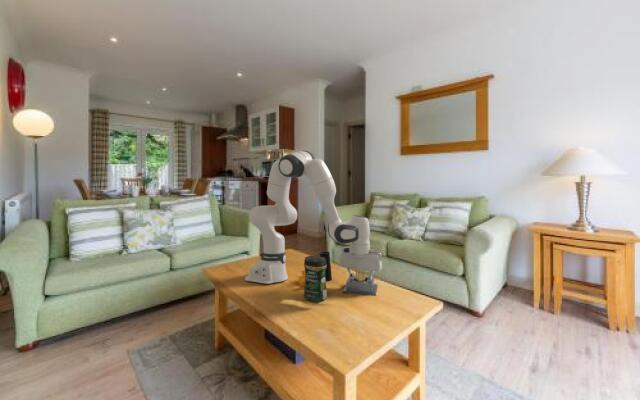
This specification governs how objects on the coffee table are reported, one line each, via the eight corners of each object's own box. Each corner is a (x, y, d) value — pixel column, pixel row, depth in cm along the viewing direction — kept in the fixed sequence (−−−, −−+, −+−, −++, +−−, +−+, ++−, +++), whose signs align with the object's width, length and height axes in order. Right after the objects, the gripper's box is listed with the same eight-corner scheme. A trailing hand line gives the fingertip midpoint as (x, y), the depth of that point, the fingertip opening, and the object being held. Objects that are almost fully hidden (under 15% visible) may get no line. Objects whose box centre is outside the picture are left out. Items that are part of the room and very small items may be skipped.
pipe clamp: (298, 282, 148) (298, 270, 148) (306, 282, 149) (306, 269, 149) (303, 289, 136) (303, 276, 136) (312, 289, 138) (312, 275, 137)
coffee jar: (301, 299, 123) (300, 256, 123) (311, 294, 130) (311, 253, 130) (319, 303, 118) (319, 259, 118) (329, 298, 125) (329, 255, 124)
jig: (342, 292, 131) (342, 282, 131) (347, 283, 145) (347, 274, 145) (375, 295, 128) (375, 284, 128) (377, 285, 141) (377, 276, 141)
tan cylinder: (355, 289, 134) (355, 272, 134) (356, 286, 138) (356, 269, 138) (364, 290, 133) (364, 272, 133) (365, 287, 137) (365, 270, 137)
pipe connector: (314, 286, 143) (312, 256, 142) (309, 283, 148) (307, 255, 147) (333, 280, 149) (331, 252, 148) (328, 278, 154) (326, 250, 153)
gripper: (383, 250, 134) (384, 279, 134) (344, 246, 144) (344, 273, 144) (379, 252, 128) (379, 283, 128) (338, 248, 138) (338, 276, 139)
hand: (360, 278), depth 136 cm, fingers open, 8 cm apart
